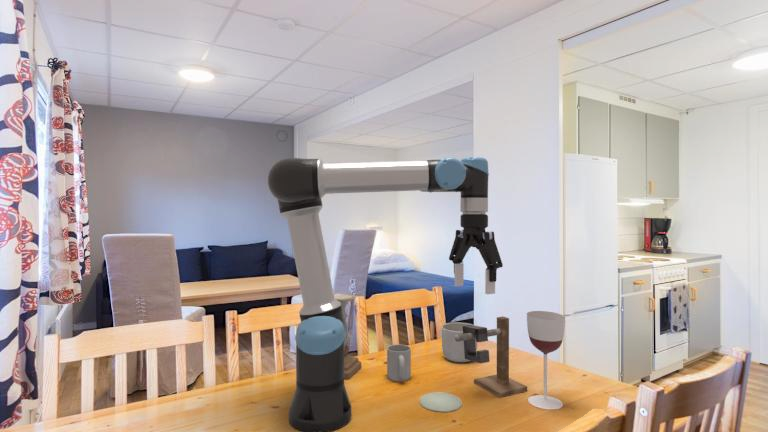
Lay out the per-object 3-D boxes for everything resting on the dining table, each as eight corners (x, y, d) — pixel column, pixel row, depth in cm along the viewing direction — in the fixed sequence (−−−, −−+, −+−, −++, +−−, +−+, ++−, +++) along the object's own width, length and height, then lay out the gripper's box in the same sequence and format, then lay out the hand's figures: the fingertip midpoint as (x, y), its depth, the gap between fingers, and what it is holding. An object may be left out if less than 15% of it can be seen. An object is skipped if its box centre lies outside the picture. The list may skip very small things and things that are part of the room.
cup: (408, 372, 136) (408, 344, 136) (414, 385, 127) (414, 354, 126) (385, 373, 135) (385, 345, 135) (390, 386, 126) (390, 355, 125)
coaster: (434, 415, 107) (434, 414, 107) (412, 398, 117) (412, 396, 117) (470, 406, 112) (470, 405, 112) (446, 391, 122) (446, 389, 122)
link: (480, 363, 116) (478, 329, 117) (464, 358, 123) (462, 326, 123) (489, 361, 118) (486, 327, 119) (473, 357, 124) (471, 324, 125)
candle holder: (315, 375, 134) (315, 297, 134) (331, 363, 144) (331, 291, 144) (348, 379, 130) (348, 300, 130) (362, 367, 141) (362, 293, 141)
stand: (468, 405, 113) (469, 329, 113) (444, 389, 123) (445, 319, 123) (527, 390, 122) (527, 320, 122) (500, 377, 132) (500, 312, 132)
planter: (483, 356, 151) (483, 325, 151) (470, 367, 141) (470, 333, 141) (449, 350, 158) (449, 320, 158) (435, 360, 147) (435, 328, 147)
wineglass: (541, 412, 109) (542, 321, 109) (519, 396, 119) (519, 312, 118) (572, 408, 112) (573, 318, 111) (548, 392, 121) (548, 310, 121)
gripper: (516, 213, 112) (516, 296, 112) (457, 213, 134) (457, 282, 134) (494, 213, 108) (493, 298, 109) (437, 213, 131) (437, 283, 131)
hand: (473, 289), depth 121 cm, fingers open, 13 cm apart
